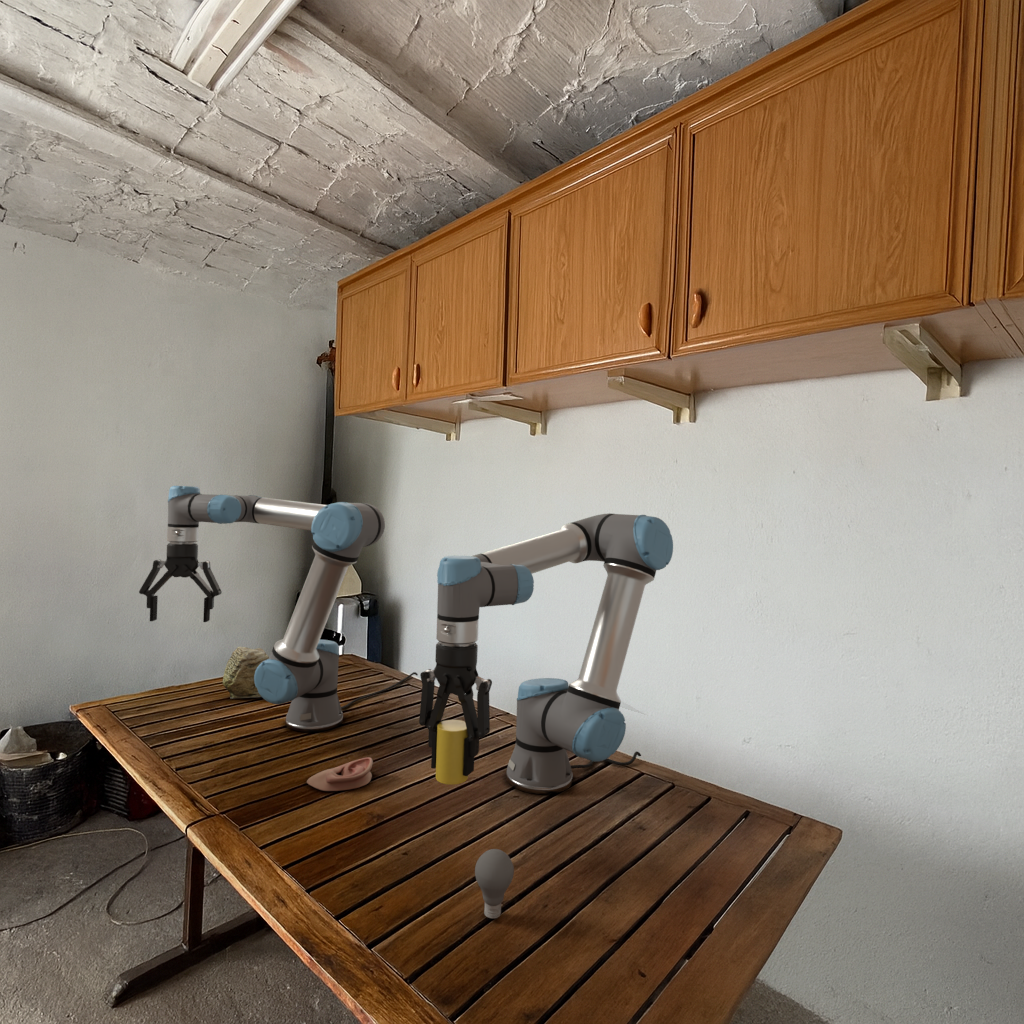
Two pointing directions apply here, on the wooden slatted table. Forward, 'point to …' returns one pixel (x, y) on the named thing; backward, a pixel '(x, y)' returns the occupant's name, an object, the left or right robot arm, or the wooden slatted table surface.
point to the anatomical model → (343, 776)
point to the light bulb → (494, 879)
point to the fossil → (243, 672)
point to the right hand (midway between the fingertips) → (452, 768)
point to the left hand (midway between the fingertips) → (180, 620)
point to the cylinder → (450, 752)
